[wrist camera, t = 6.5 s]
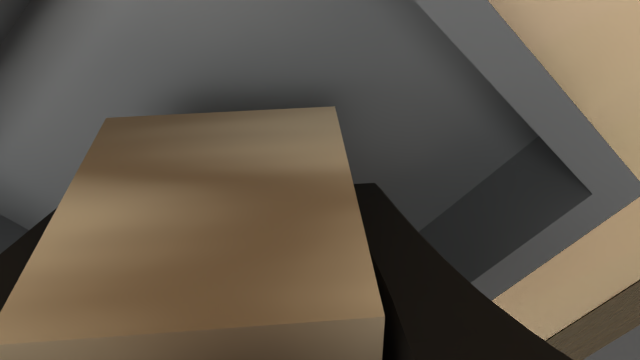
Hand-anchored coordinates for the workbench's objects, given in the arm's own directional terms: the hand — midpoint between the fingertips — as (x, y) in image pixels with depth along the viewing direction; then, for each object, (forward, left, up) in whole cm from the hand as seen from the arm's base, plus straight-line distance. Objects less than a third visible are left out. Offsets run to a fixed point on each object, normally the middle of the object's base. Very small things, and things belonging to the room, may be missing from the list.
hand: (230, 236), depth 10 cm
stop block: (0, 0, -1) cm, 1 cm away
